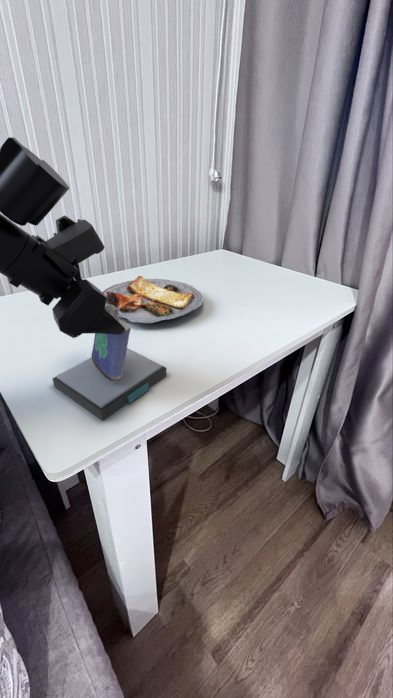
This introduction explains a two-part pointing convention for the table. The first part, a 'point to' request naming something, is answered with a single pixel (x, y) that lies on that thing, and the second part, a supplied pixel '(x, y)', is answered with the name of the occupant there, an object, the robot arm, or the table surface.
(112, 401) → the scale
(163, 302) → the food plate
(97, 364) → the flask
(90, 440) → the table surface
